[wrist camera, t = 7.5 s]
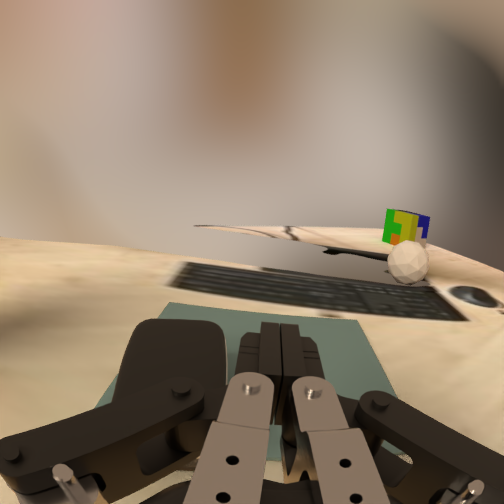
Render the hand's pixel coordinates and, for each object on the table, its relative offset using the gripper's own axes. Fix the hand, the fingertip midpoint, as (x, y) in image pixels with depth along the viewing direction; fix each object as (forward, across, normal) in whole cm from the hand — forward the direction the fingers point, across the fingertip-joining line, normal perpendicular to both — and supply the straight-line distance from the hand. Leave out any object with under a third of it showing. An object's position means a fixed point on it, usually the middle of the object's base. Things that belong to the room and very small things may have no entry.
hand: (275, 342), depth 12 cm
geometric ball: (+37, -25, +9) cm, 46 cm away
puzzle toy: (+74, -42, +9) cm, 86 cm away
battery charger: (-2, +5, +8) cm, 9 cm away
